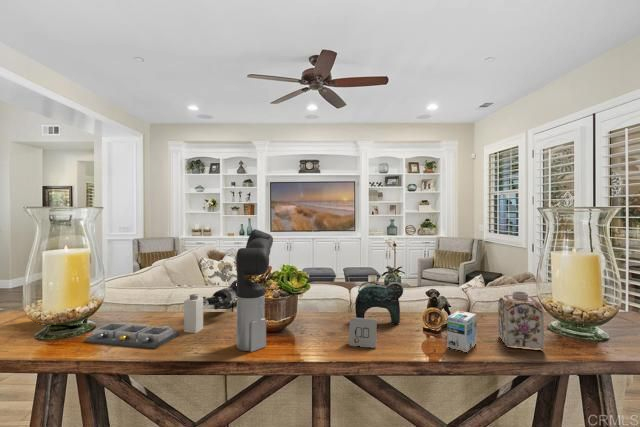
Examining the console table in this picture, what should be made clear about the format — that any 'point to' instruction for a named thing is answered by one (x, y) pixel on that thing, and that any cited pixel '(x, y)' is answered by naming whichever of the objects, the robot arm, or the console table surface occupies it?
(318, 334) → the console table surface
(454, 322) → the light bulb box
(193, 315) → the white tall block
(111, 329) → the breaker board
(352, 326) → the electrical switch
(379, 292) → the dark green figurine
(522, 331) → the decorative jar
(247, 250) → the robot arm
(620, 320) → the console table surface
